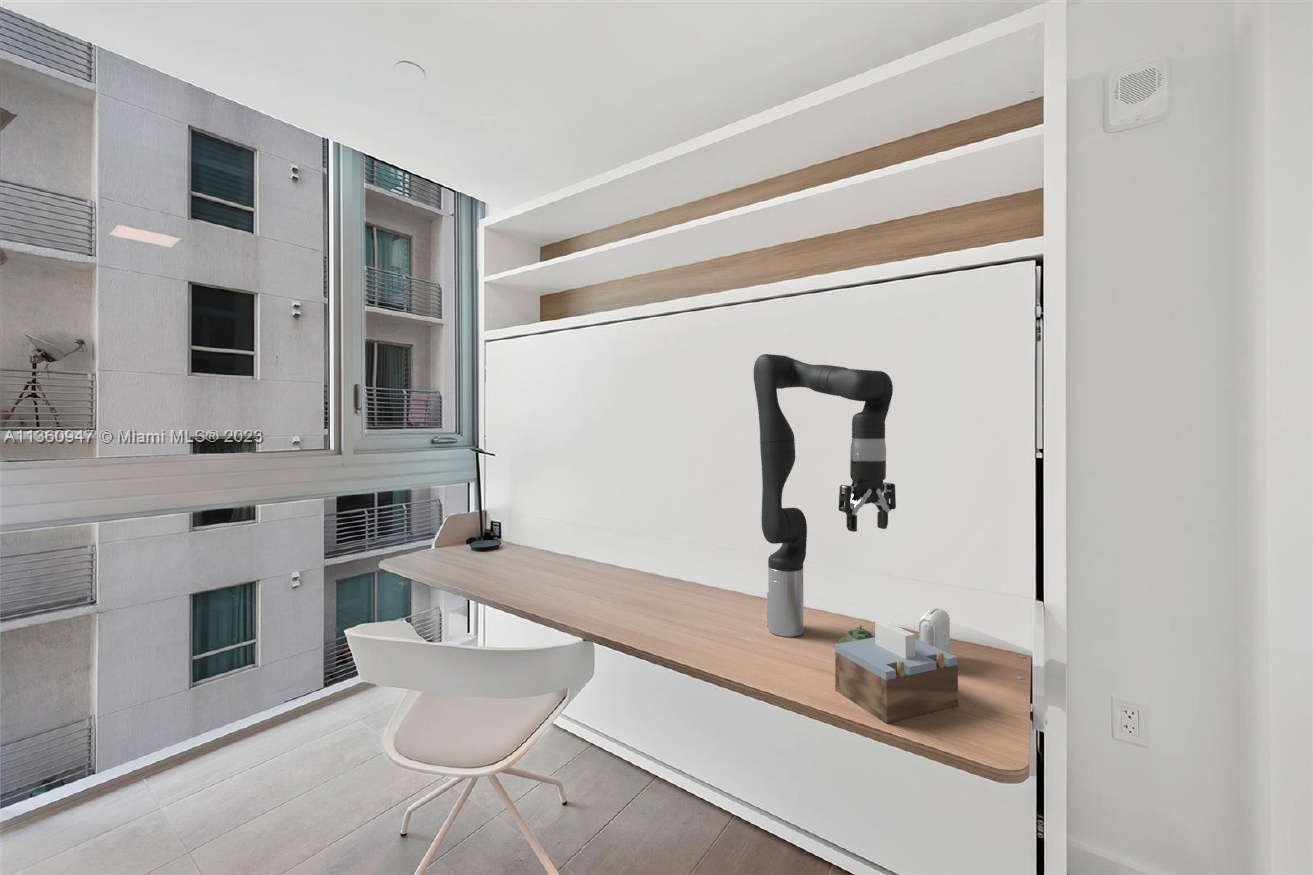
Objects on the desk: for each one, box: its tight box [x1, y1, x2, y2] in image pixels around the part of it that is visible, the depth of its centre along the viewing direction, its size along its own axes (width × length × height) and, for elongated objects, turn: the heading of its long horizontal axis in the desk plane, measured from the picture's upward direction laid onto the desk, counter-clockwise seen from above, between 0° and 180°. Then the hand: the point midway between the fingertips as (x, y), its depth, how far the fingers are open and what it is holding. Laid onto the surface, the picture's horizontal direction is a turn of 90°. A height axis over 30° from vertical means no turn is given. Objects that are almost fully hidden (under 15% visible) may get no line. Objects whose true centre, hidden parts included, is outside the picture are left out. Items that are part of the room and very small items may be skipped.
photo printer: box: [918, 607, 951, 654], centre depth 124 cm, size 10×4×12 cm, turn 133°
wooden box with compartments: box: [834, 651, 959, 725], centre depth 108 cm, size 14×18×10 cm
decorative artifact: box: [838, 624, 875, 644], centre depth 130 cm, size 10×7×10 cm
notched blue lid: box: [834, 620, 959, 680], centre depth 108 cm, size 14×18×6 cm
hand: (867, 529), depth 121 cm, fingers open, 8 cm apart
